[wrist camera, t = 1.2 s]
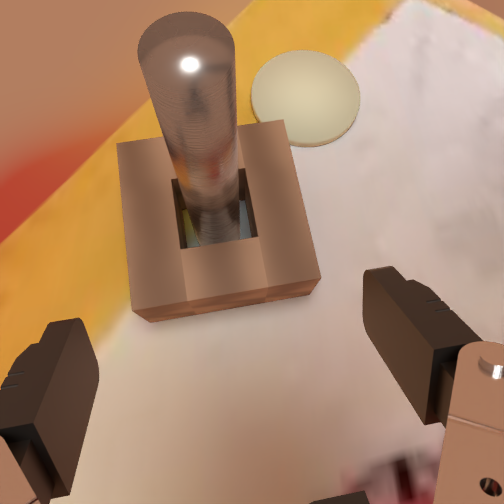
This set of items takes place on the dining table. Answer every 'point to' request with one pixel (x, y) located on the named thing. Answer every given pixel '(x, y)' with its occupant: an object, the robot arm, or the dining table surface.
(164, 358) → the dining table surface
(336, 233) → the dining table surface
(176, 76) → the metallic grey cylinder
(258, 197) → the brown square frame
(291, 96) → the mat
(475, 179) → the dining table surface
